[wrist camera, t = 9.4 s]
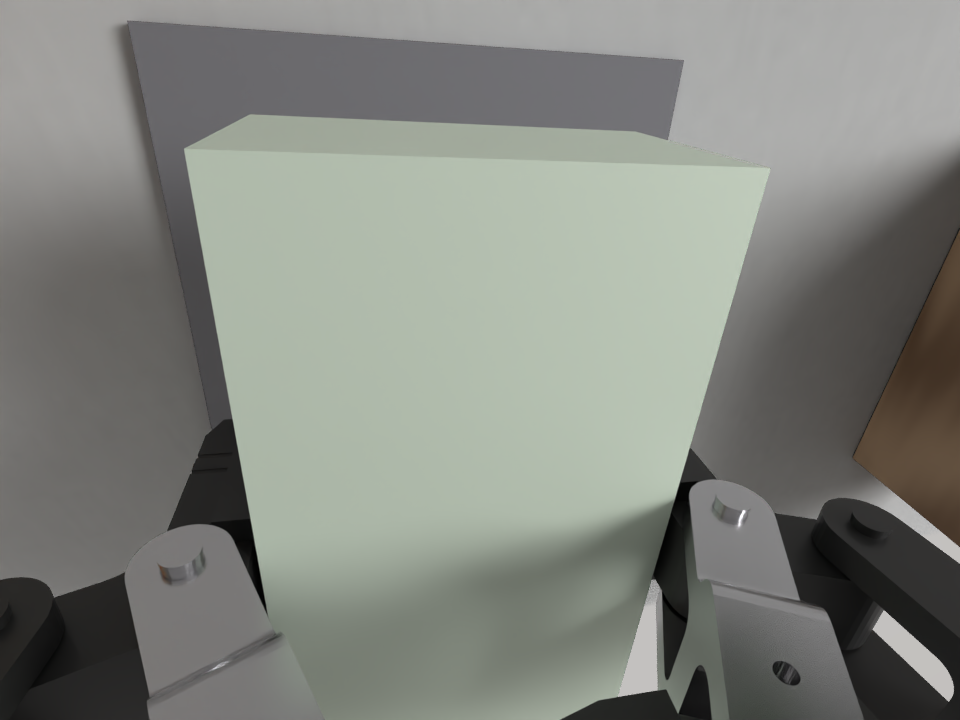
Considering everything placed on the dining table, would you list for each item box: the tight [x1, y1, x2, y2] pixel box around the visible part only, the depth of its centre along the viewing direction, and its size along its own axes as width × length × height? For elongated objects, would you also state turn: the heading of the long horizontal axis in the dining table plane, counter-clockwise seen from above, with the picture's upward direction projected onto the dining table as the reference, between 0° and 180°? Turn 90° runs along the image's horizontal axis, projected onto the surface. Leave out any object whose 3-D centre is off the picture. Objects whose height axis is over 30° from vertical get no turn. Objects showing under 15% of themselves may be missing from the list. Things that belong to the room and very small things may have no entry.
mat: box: [127, 21, 684, 430], centre depth 16 cm, size 14×12×1 cm
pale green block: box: [184, 114, 771, 720], centre depth 10 cm, size 12×6×4 cm, turn 177°
